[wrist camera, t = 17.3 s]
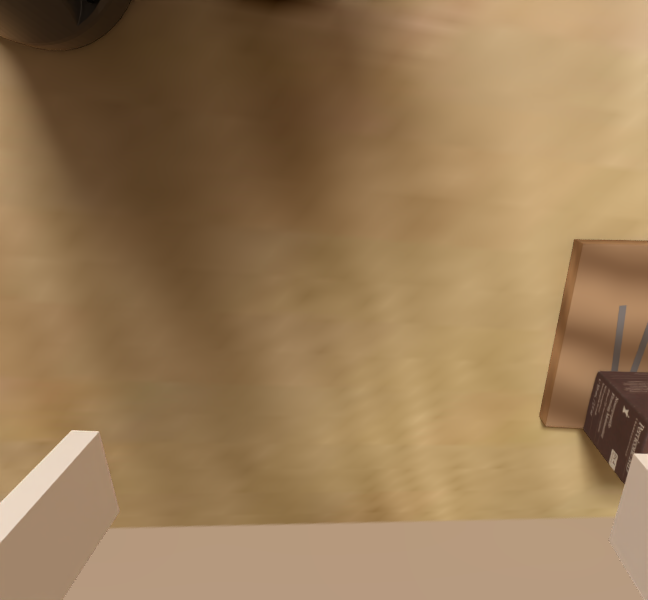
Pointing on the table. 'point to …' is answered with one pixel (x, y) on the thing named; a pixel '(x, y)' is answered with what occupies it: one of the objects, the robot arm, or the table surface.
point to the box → (619, 417)
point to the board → (597, 325)
